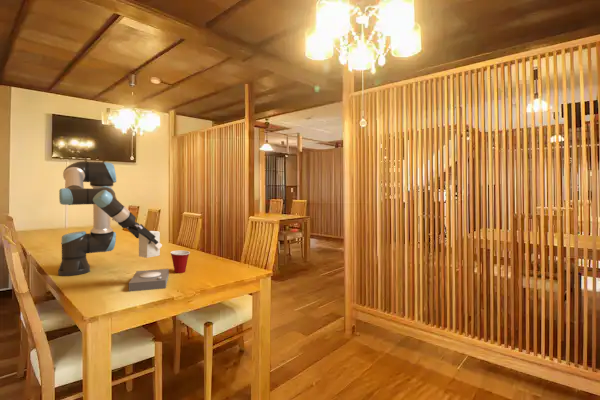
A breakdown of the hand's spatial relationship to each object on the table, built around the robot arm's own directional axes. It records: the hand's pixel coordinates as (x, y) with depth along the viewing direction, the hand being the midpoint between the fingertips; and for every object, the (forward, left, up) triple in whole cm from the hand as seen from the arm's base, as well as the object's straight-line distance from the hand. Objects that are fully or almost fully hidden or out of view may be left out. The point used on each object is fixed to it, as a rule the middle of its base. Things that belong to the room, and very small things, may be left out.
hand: (155, 246), depth 168 cm
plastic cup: (-17, +11, -19) cm, 28 cm away
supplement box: (+2, -3, -5) cm, 6 cm away
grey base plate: (+2, -3, -19) cm, 19 cm away
